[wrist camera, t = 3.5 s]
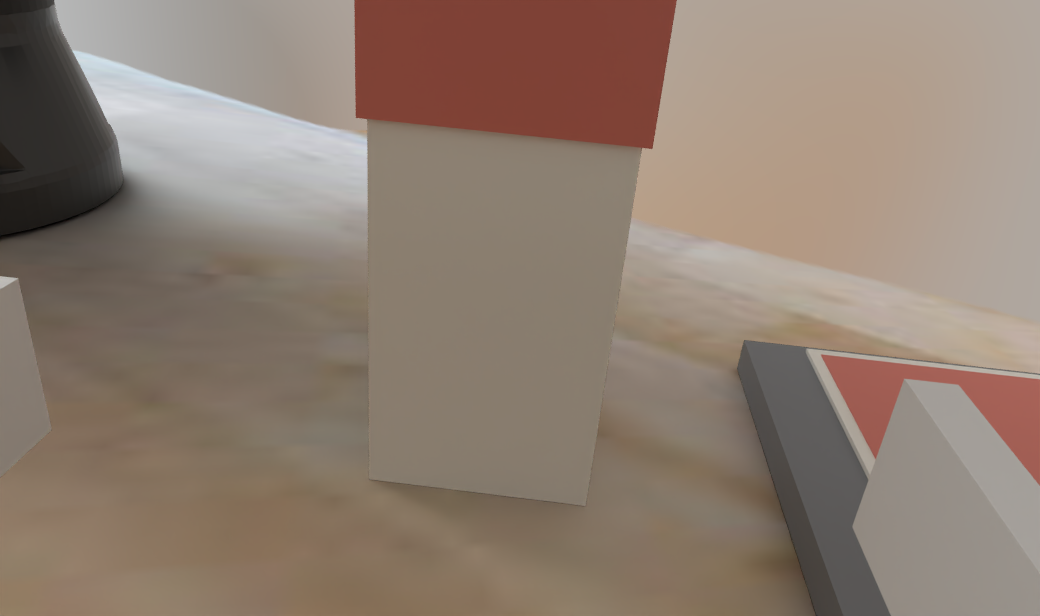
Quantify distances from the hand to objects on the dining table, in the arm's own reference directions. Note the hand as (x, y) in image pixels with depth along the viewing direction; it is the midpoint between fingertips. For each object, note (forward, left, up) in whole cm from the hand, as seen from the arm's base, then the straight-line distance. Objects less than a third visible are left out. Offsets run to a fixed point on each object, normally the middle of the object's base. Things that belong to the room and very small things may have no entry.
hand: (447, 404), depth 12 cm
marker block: (-10, 0, -7) cm, 12 cm away
